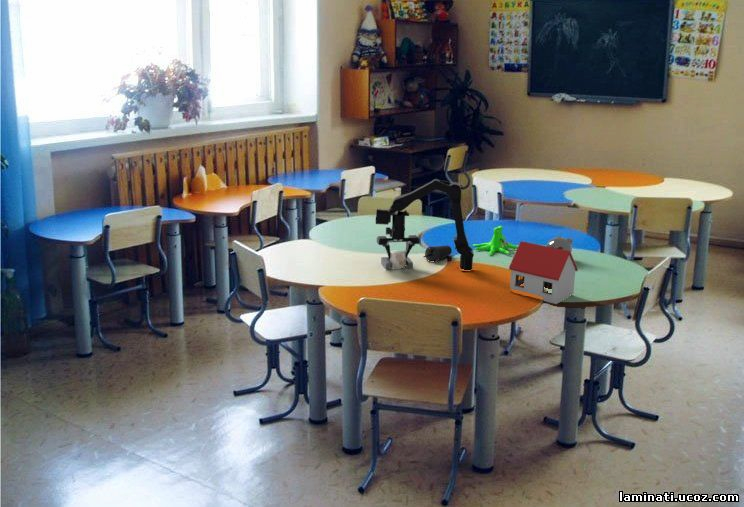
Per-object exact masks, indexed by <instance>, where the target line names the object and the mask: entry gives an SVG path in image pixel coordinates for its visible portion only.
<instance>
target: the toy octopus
mask: <svg viewBox="0 0 744 507" xmlns="http://www.w3.org/2000/svg"><path fill="white" fill-rule="evenodd" d="M503 229H504V227H503V225H499V226H496V227H494V228H493V236H492V238H491V240H490V241H489V242H482V243H478V244H476V243H474V244H472V245H471V246H472V247H475V248H474V250H475V251H488V253H489V254H488V256H489V257H490V256H493V255H494V253H496V252H498V253H504V254H506V255H509V254H510V251H508V250H509V249H512V250H517V248H518V246H519V245H514V244H512V243H511V242H507V241H506V236H505V235H503V232H502V230H503Z"/></svg>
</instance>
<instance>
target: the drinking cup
mask: <svg viewBox="0 0 744 507" xmlns="http://www.w3.org/2000/svg"><path fill="white" fill-rule="evenodd" d="M452 253H453V250H452V247H451V246H450V245H447V244H446V245H438V246H437V245H436V246H433V245H431V246H428V247H427V248H426V249H425V251H424V255H423V258H425V259H426V260H427V261H428V260H429V261H428V262H430V261H434V262H433V263H436V262H438V261H440V260H441V259H443V258H446V257H448V256H450V255H451V254H452Z"/></svg>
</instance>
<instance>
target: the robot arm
mask: <svg viewBox="0 0 744 507" xmlns="http://www.w3.org/2000/svg"><path fill="white" fill-rule="evenodd" d="M435 190H437V191H440V192H442V193H445V194H448V195H449V198H450V202H451V205H452V209H453V217H454V222H455V230H456V236H454V237H453V242H454V250H456V251H457V253H458V254H459V256H460V258H459V266H460V268H461V269H464V270H471V269H472V268H473V264H474V262H473V261H474V256H475V255H474V249H473V248H472V247H471V246H470V245H469V240H468V238H467V235H466V231H465V226H464V225H465V224H464V219H463V211H462V205H461V202H462V188H461V184H460V183H459V182H456V181H452V182H450V181H446V180H441V179H438V178H435V179H433V180H431V181H430V182H427V183H425V184H424V185H423V186H420V187H418V188H417V189H414V190H413V191H411V192H407V193H404V194H401V195H397V196H396V197H394V198H393V200H392V205H390V207H389V208H388V209H382V208H381V209H380V208H377V209H376V213H375V214H376V215H375V225H383V226H384V225H385V226H386V225H387V226H388V225H389V224H390V223H391V227H389V226H388V227H385V235H381V236H380V235H378V236H377V237H376V243H377V245H379V246H382V247H384V249H385V250H386V254H387V257H388V258H389V259H390V251H391V245H390V244H389V243H405V252H406V254H405V258H407V256H408V257H409V254H410V251H412V248H413V247H415V246H416V245H419V244H420V238H419V237H418V235H416V234H415V235H413V234H412V235H410V234H409V235H408V236H407V237H405V234H406V232H405V231H406V217H410V212H409V211H408V210H407V209H406V208H407V207H410V205H411V204H412V203H414V202H415V201H417V200H419V199H421V198H422V197H424V196H426V195H428V194H430V193H431V192H434V191H435ZM386 235H387V236H388V235H389V238H388V237H387V236H386Z"/></svg>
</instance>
